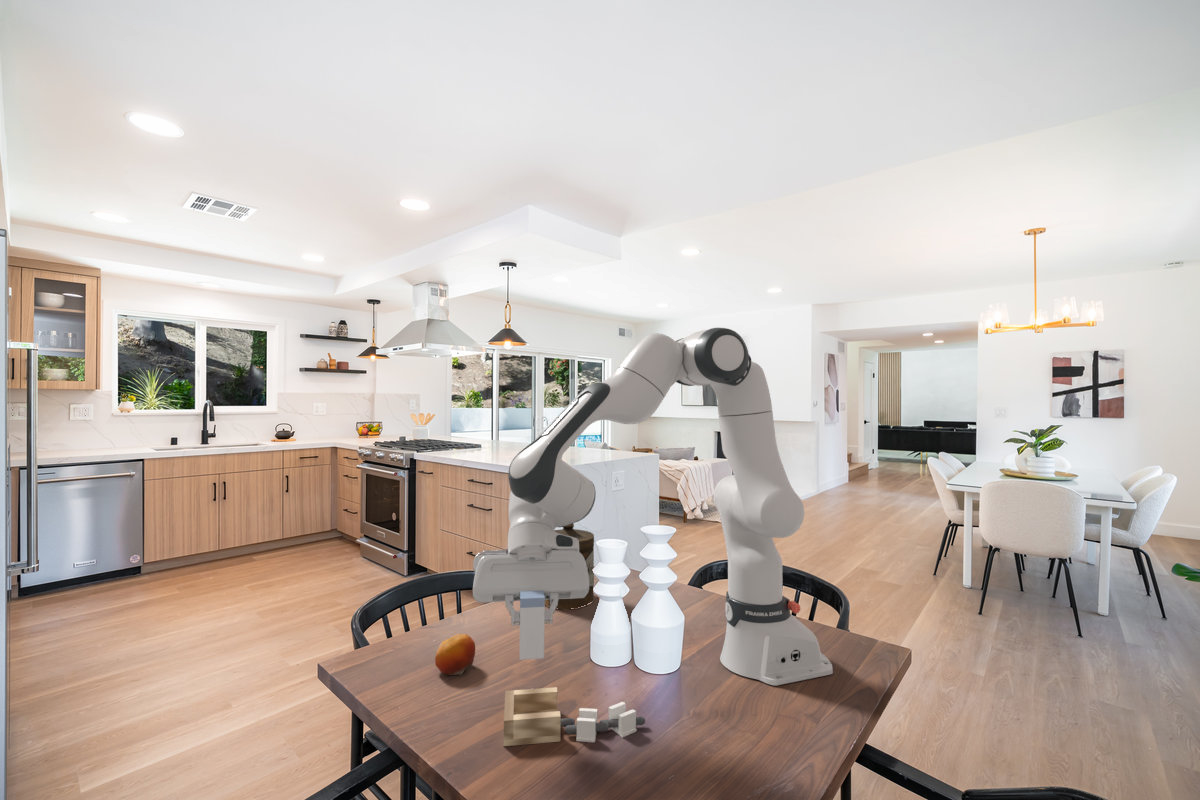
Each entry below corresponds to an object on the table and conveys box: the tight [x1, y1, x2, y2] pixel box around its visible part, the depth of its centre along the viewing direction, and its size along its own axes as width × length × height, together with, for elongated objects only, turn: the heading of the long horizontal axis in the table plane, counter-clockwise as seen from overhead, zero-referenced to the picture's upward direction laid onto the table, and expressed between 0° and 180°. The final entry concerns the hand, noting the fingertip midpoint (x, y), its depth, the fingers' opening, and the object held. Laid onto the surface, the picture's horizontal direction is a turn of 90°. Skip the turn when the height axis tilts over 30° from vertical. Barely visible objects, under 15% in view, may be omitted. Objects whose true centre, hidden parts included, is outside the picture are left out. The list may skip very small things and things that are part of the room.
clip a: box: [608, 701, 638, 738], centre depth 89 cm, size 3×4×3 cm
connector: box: [519, 590, 546, 661], centre depth 90 cm, size 4×4×10 cm
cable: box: [560, 716, 646, 735], centre depth 89 cm, size 16×3×1 cm, turn 98°
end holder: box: [503, 686, 562, 747], centre depth 90 cm, size 9×9×4 cm
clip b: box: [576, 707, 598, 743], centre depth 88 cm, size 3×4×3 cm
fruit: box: [434, 633, 476, 676], centre depth 109 cm, size 8×8×8 cm
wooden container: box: [545, 523, 595, 610], centre depth 149 cm, size 15×15×22 cm
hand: (532, 623), depth 89 cm, fingers closed on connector, 4 cm apart
